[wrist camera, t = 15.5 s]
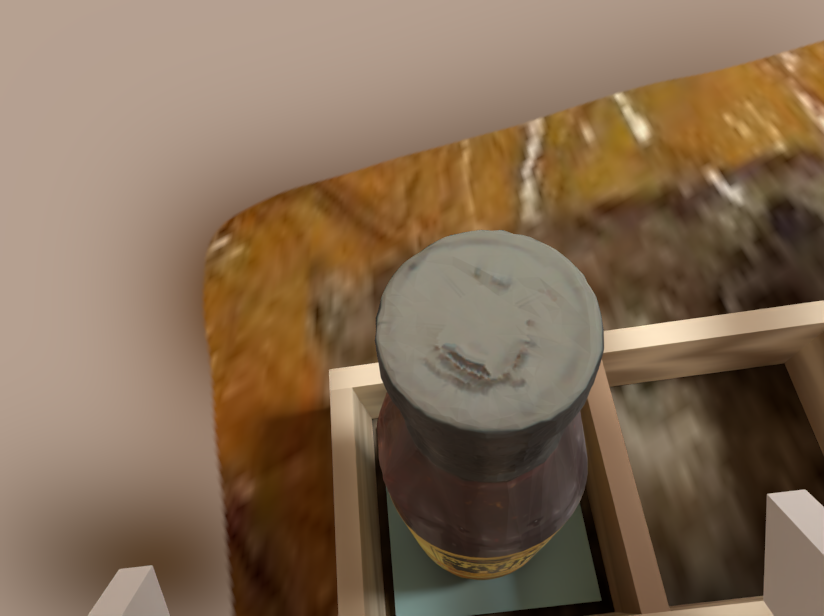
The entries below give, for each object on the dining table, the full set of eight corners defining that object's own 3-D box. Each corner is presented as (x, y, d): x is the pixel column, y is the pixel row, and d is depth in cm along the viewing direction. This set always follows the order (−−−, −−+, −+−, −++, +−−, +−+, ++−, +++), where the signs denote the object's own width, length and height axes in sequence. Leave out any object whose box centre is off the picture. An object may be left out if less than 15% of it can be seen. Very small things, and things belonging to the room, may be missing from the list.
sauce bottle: (457, 610, 26) (383, 628, 8) (390, 484, 28) (226, 295, 11) (580, 529, 27) (754, 388, 9) (502, 415, 29) (519, 136, 12)
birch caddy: (796, 342, 30) (850, 296, 25) (914, 606, 24) (1010, 607, 20) (352, 402, 31) (329, 369, 26) (366, 666, 25) (340, 679, 21)
